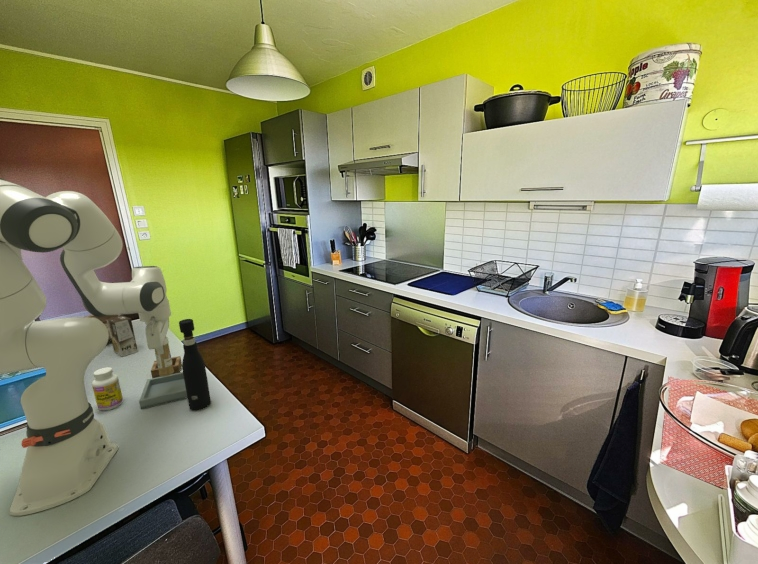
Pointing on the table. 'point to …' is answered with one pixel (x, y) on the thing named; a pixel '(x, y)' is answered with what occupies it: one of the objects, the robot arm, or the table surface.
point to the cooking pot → (104, 321)
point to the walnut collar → (175, 362)
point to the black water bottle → (194, 369)
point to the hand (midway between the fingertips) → (162, 350)
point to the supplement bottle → (106, 389)
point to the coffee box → (122, 335)
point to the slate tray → (163, 390)
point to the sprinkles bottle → (164, 360)
